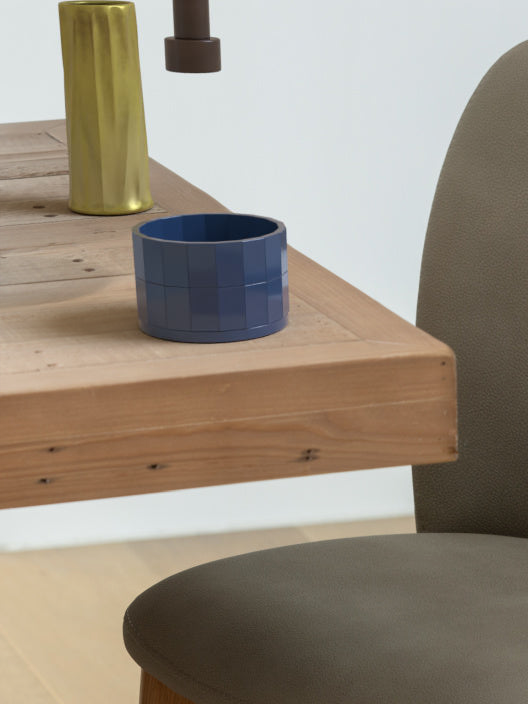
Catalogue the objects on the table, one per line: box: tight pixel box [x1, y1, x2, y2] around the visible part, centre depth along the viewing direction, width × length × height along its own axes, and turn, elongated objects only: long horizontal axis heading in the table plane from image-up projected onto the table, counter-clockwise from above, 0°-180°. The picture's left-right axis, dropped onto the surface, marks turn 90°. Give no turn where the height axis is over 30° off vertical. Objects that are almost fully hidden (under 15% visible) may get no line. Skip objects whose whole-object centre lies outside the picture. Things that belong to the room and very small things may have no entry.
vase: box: [57, 0, 155, 216], centre depth 111 cm, size 6×6×14 cm
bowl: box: [131, 212, 290, 344], centre depth 83 cm, size 8×8×5 cm
